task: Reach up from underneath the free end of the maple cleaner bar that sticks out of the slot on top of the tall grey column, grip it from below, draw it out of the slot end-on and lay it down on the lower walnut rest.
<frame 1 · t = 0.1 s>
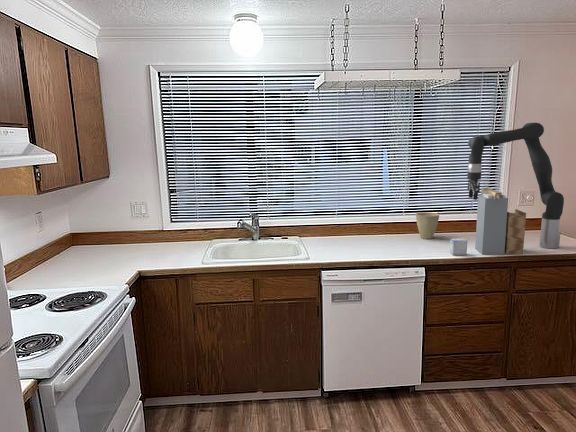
hand: (472, 198, 256), 29 cm above the worktop, fingers open, 8 cm apart
medicine box: (458, 254, 245), on the worktop
plant pot: (426, 237, 286), on the worktop
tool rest: (510, 251, 249), on the worktop
cleaner bar: (491, 196, 245), point 32 cm above the worktop, touching slot column
slot column: (489, 251, 249), on the worktop
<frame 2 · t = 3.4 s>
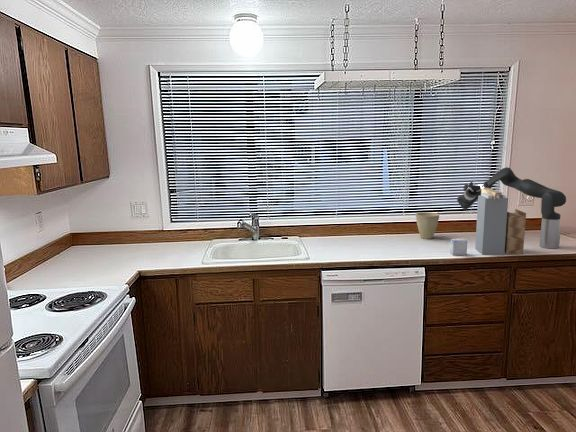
hand: (479, 183, 272), 37 cm above the worktop, fingers open, 8 cm apart
nothing on the worktop moved.
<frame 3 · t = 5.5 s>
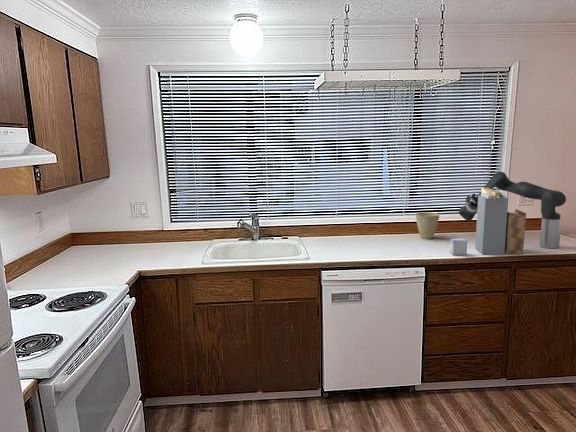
hand: (482, 194, 261), 31 cm above the worktop, fingers open, 8 cm apart
nothing on the worktop moved.
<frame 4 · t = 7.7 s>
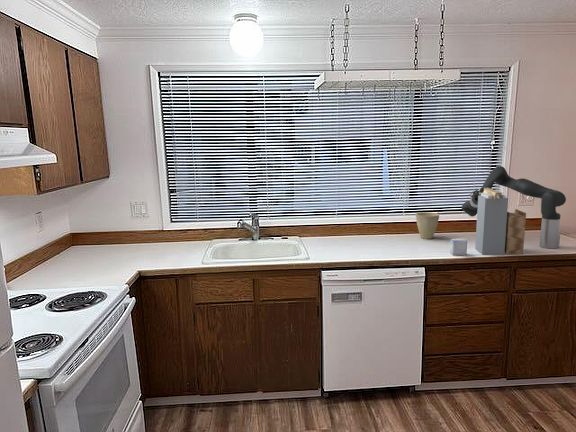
hand: (486, 188, 253), 35 cm above the worktop, fingers closed on cleaner bar, 3 cm apart
cleaner bar: (491, 196, 245), point 32 cm above the worktop, touching gripper, slot column
everything else where it was.
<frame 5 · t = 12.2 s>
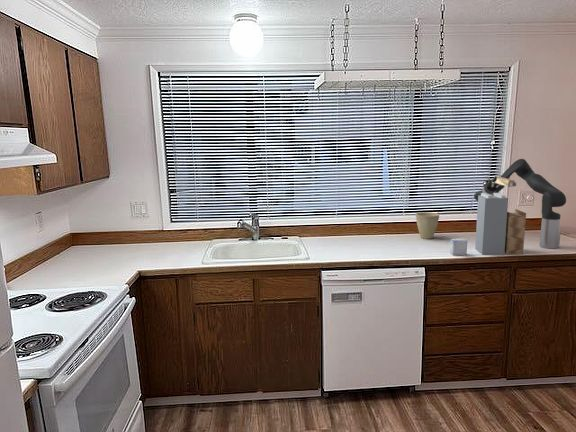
hand: (499, 177, 264), 40 cm above the worktop, fingers closed on cleaner bar, 3 cm apart
cleaner bar: (504, 184, 257), point 37 cm above the worktop, touching gripper
everything else where it was.
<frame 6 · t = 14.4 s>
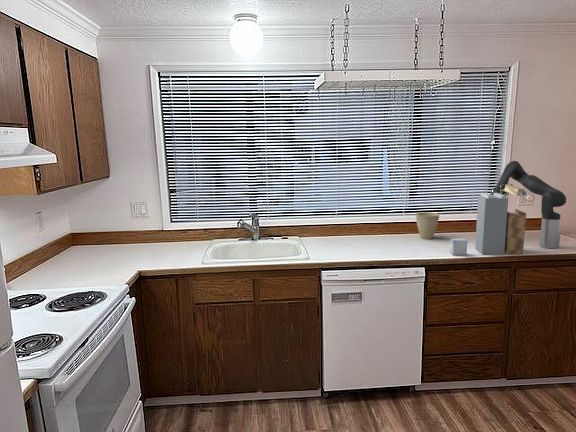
hand: (508, 185, 252), 37 cm above the worktop, fingers closed on cleaner bar, 3 cm apart
cleaner bar: (513, 193, 244), point 34 cm above the worktop, touching gripper
everything else where it was.
when the fingers open (26 cm above the worktop, at t = 16.6 s): cleaner bar drops 1 cm, resting on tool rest.
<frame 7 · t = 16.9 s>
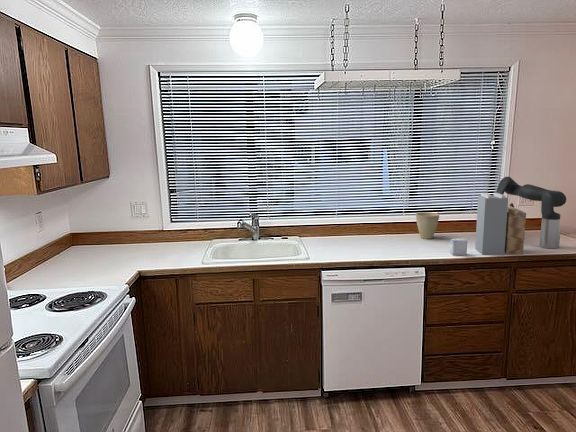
hand: (506, 204, 254), 26 cm above the worktop, fingers open, 6 cm apart
cleaner bar: (511, 214, 247), point 21 cm above the worktop, touching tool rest
everything else where it was.
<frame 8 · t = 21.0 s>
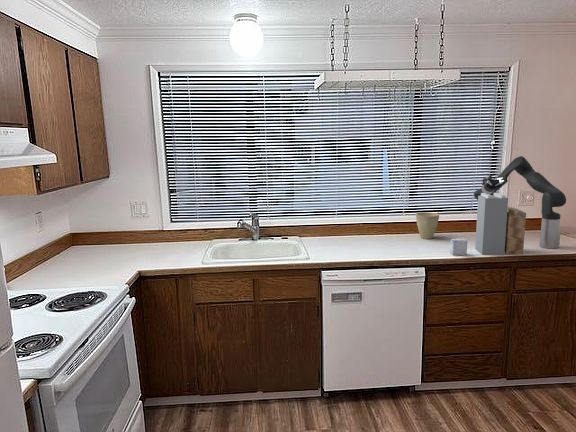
hand: (498, 176, 266), 41 cm above the worktop, fingers open, 8 cm apart
nothing on the worktop moved.
at the end: cleaner bar inside the target area on the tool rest (0.4 cm from its centre), point 21.5 cm above the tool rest's base; the gripper is holding nothing; cleaner bar moved 16.0 cm from its start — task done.
